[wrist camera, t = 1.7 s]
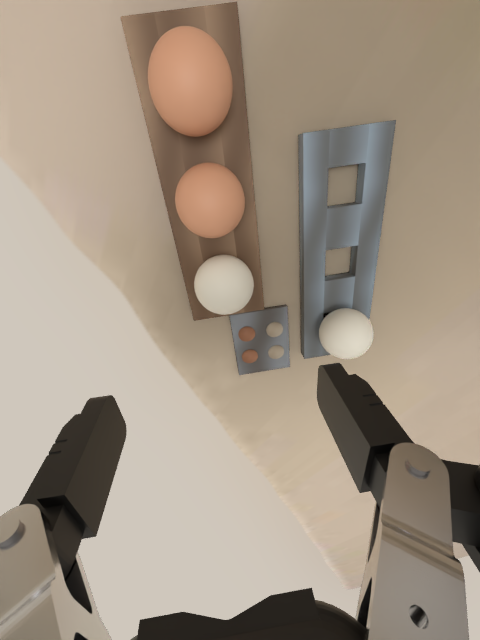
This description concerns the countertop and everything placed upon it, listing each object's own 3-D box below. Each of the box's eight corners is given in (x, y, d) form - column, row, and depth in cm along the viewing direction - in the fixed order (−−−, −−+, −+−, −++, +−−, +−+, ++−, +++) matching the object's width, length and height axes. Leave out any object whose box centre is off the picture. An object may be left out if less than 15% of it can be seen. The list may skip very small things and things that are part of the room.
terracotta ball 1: (223, 41, 17) (228, -1, 13) (234, 135, 20) (241, 125, 15) (146, 51, 17) (125, 12, 13) (166, 144, 20) (154, 137, 15)
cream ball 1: (246, 243, 24) (254, 260, 19) (252, 295, 26) (260, 320, 22) (190, 252, 24) (186, 271, 19) (201, 303, 26) (199, 330, 22)
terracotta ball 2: (236, 158, 21) (244, 156, 16) (244, 226, 23) (252, 239, 19) (171, 168, 20) (161, 167, 16) (186, 235, 23) (181, 250, 19)
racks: (402, -10, 17) (414, -21, 16) (359, 353, 32) (364, 359, 31) (125, 25, 17) (120, 16, 16) (209, 377, 32) (209, 384, 31)
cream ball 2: (360, 296, 28) (388, 320, 23) (355, 336, 30) (380, 365, 26) (312, 303, 27) (331, 329, 23) (311, 343, 30) (329, 373, 26)
